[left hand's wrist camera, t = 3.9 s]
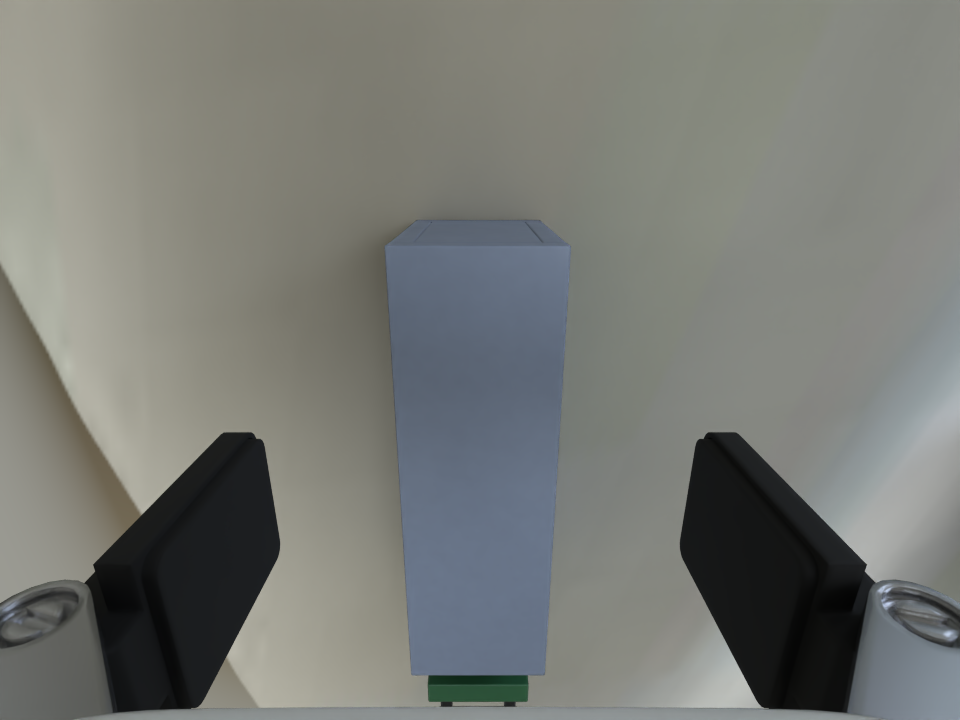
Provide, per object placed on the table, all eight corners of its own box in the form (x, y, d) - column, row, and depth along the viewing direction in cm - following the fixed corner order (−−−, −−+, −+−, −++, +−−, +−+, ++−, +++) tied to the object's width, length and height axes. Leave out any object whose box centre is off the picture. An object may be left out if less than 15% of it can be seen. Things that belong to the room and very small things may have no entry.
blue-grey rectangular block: (527, 542, 32) (544, 675, 24) (429, 542, 32) (411, 675, 24) (540, 220, 26) (571, 245, 17) (415, 219, 25) (384, 245, 17)
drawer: (515, 654, 34) (524, 774, 28) (441, 655, 34) (431, 774, 28) (527, 305, 26) (544, 354, 19) (429, 305, 26) (411, 354, 19)
